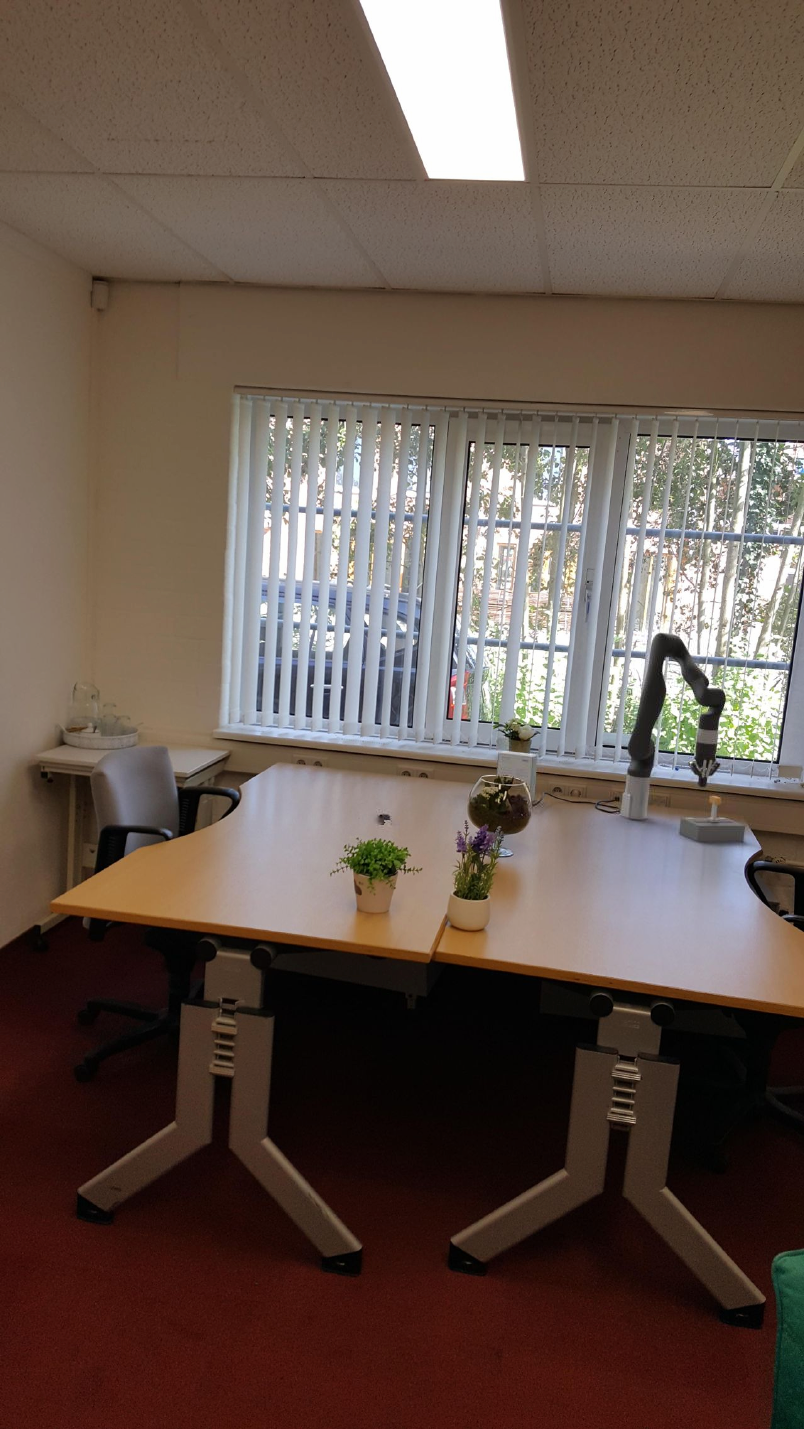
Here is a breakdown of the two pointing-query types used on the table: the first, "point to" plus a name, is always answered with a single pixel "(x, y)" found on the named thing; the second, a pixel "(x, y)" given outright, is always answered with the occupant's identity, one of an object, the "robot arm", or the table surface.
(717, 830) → the switch box
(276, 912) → the table surface
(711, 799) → the breaker handle
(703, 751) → the robot arm
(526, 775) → the hard drive box
